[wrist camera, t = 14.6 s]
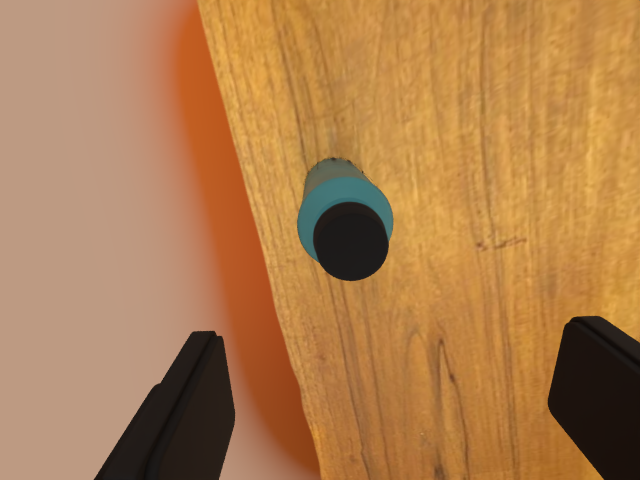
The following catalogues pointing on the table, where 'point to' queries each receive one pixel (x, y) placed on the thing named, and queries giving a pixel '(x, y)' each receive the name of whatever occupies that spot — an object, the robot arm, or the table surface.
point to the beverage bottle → (344, 220)
